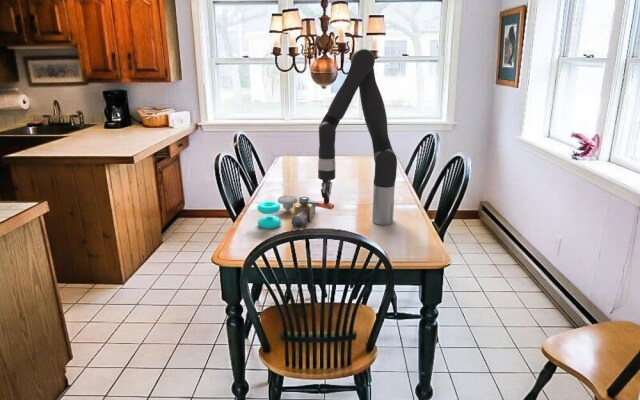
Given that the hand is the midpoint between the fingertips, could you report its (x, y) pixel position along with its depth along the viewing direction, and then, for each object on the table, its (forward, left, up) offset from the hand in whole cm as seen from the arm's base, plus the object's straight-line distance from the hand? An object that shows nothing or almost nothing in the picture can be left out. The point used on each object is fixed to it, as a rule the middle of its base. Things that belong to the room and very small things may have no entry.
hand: (326, 205), depth 209 cm
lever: (+4, +2, 0) cm, 5 cm away
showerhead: (+20, -9, -8) cm, 24 cm away
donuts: (+23, +10, -8) cm, 27 cm away
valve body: (+10, 0, -8) cm, 13 cm away
